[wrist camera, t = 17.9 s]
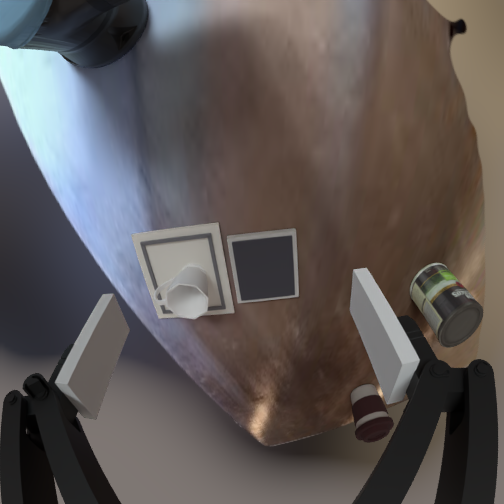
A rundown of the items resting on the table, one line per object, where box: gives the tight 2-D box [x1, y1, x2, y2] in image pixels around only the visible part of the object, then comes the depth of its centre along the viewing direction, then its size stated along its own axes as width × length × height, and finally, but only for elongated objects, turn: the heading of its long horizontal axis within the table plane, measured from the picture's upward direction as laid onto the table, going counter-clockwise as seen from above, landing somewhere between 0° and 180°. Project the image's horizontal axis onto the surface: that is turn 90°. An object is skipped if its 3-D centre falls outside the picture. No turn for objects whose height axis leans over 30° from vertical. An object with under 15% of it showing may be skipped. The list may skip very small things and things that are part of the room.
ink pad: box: [227, 228, 299, 303], centre depth 51 cm, size 13×11×1 cm
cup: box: [154, 263, 209, 319], centre depth 48 cm, size 7×10×8 cm
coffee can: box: [410, 263, 483, 347], centre depth 48 cm, size 10×10×14 cm
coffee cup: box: [351, 384, 394, 442], centre depth 64 cm, size 10×10×15 cm
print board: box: [131, 222, 235, 318], centre depth 52 cm, size 18×15×1 cm
